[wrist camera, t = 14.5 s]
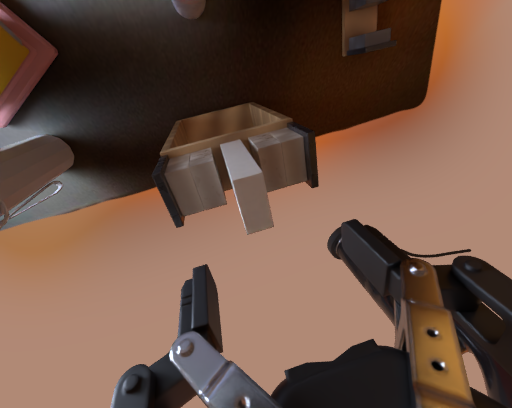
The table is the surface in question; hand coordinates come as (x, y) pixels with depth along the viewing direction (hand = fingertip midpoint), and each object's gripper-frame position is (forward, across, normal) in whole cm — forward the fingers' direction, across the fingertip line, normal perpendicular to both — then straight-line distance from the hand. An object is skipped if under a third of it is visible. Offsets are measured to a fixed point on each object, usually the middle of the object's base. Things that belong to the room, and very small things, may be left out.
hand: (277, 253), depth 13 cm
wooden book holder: (+18, 0, 0) cm, 18 cm away
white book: (+17, 0, 0) cm, 17 cm away
